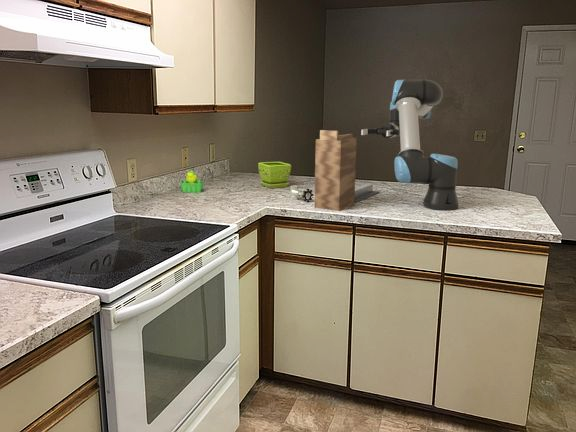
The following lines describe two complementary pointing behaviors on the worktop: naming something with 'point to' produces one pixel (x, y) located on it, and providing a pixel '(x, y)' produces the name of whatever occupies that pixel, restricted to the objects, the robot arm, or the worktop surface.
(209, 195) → the worktop surface
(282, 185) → the flower pot
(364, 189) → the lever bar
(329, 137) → the column
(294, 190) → the valve
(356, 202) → the bed mat
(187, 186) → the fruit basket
